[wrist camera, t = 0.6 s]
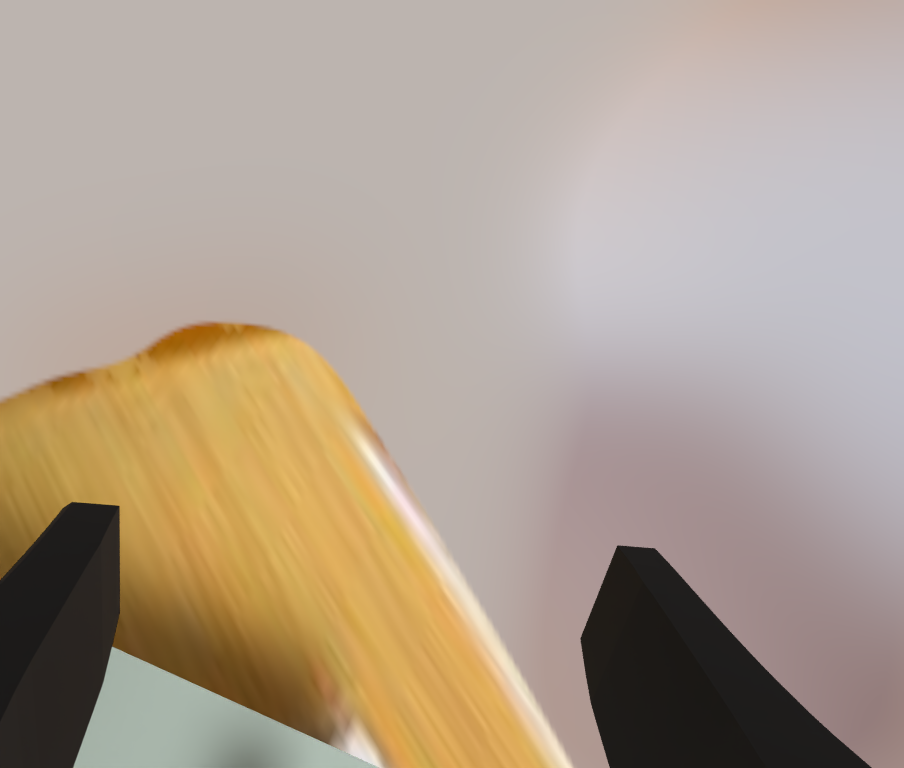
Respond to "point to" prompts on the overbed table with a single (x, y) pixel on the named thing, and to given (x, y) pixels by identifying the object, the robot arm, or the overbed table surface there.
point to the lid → (189, 727)
